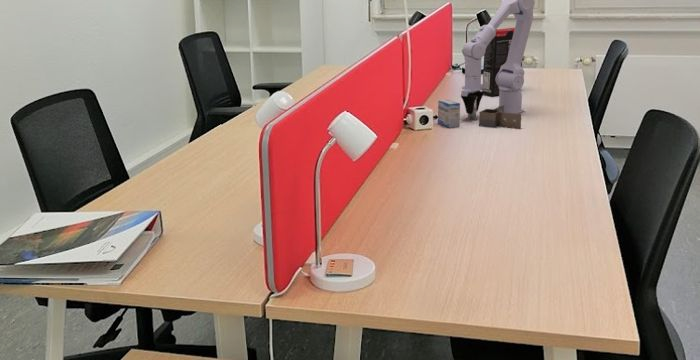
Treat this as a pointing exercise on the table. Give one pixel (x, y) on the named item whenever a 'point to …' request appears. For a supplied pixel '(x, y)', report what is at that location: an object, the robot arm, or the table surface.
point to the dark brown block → (489, 122)
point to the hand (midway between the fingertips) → (472, 112)
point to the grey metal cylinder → (473, 115)
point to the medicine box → (448, 113)
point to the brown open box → (502, 118)
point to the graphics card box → (496, 59)
